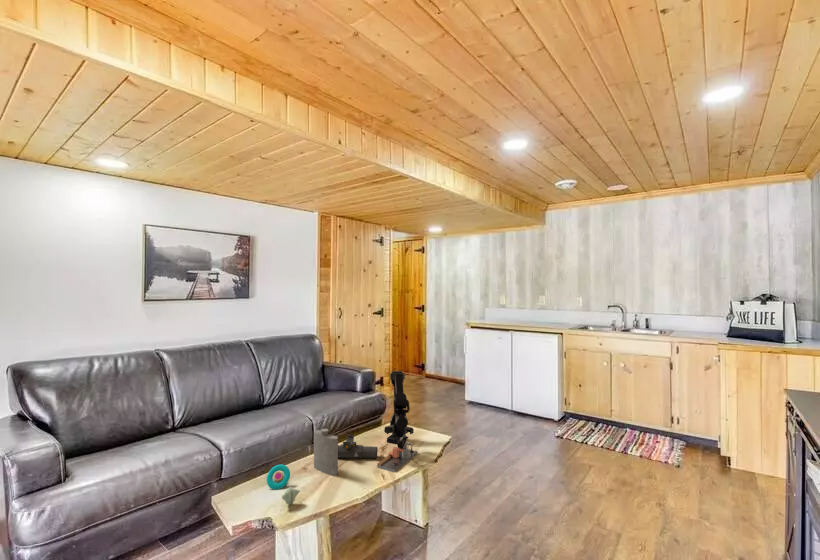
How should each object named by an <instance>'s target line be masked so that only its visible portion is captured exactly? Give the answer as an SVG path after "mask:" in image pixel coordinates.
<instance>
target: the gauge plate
mask: <svg viewBox="0 0 820 560" xmlns="http://www.w3.org/2000/svg"><path fill="white" fill-rule="evenodd" d="M413 445H414V443H413V442H409V441H408V440H407V441H406V443H405V445H404V447H403V450H404V451H403V458H402V452H400V451H399V457H398V458H394V457H393V456H392V455H389V454H388V455H387V456H385V457H384V458H383V459H381V460H380V461H378V463H377V464H376V467H377V468H378V469H381V470H385V471H389V472H393V473H395V472H397V471H398V470H399V469H400V468H402V467H404V465H406V464H407V463H408V462H410V460H412V459H413V458H414V457H415V456H417V455H418V454H419V453H418V451H417V450H413ZM409 446H410V449H409Z"/></svg>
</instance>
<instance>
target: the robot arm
mask: <svg viewBox="0 0 820 560" xmlns="http://www.w3.org/2000/svg"><path fill="white" fill-rule="evenodd" d="M389 379H390V383H391V384H392V386H393V404H392V405H393V413H392V414H391V419H390V420H389V425H387V426H385V427H384V429H383V431H384V433H385V434H386V435H389V434H391V435H389V436H387V437H386V443H387V444H393V445H397V448H399V449H403V447H404V445H405V443H406V441H407V442H408V439H409V436H408V435H407V434H408V433H409V435H413V434H414V433H415V432H414V428H413V427H411V426H408V425H409V420H408V417H407V414H409V413H410V409H411V408H410V401H409V400H408V397H407V395H406V393H405V392H404V391H405V390H404V380H406V374H405V372H403V371H402V370H396V371H395V370H394V371H391V373H389ZM400 452H401V451H400Z"/></svg>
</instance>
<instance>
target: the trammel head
mask: <svg viewBox="0 0 820 560" xmlns="http://www.w3.org/2000/svg"><path fill="white" fill-rule="evenodd" d="M399 451H401V452H402V458H403V451H404V450H403V449H399V448H398V446H397V447H392V451H390V452H388V455H392V456H393V457H394V458H398V457H399Z"/></svg>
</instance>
